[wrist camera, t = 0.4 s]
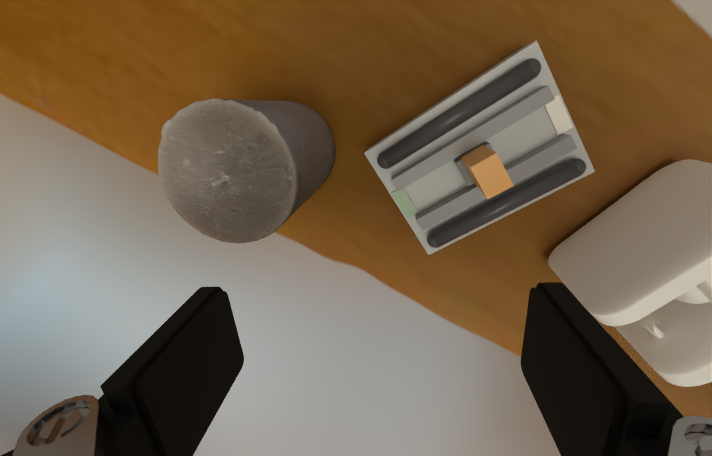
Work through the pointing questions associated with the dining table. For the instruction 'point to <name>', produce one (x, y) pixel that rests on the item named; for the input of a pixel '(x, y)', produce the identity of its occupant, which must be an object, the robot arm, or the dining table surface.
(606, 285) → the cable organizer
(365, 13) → the dining table surface
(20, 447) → the robot arm
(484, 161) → the lever
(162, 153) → the pillar candle
